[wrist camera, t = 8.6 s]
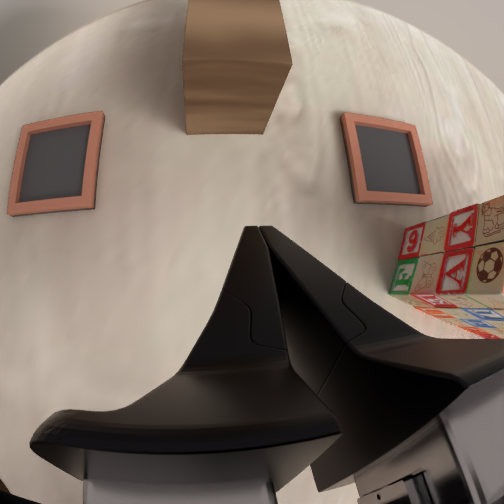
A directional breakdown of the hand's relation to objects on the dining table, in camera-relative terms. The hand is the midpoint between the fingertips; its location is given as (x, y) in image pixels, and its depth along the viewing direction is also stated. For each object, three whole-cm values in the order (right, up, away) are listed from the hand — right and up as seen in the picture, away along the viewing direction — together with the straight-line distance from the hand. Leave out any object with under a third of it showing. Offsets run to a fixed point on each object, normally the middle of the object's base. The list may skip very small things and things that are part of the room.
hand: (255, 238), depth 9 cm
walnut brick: (-3, +16, +14) cm, 22 cm away
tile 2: (+12, +8, +16) cm, 21 cm away
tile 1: (-16, +7, +11) cm, 21 cm away
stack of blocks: (+22, -5, +16) cm, 27 cm away
